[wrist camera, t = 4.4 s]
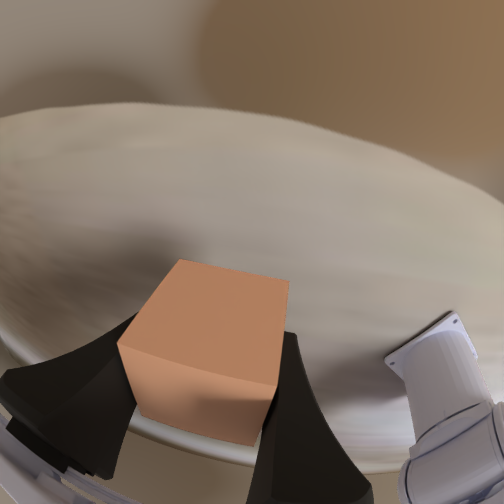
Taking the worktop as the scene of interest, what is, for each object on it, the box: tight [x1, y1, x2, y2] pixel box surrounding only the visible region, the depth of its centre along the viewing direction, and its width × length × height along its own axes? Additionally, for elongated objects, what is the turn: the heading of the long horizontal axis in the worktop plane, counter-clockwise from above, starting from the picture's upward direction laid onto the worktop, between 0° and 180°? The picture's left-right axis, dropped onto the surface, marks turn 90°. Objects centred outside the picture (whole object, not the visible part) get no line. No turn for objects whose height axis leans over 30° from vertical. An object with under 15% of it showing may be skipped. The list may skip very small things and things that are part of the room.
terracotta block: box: [117, 259, 289, 447], centre depth 10 cm, size 4×4×5 cm
